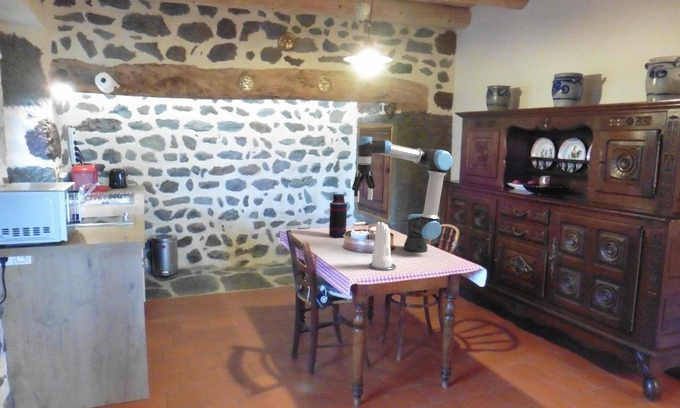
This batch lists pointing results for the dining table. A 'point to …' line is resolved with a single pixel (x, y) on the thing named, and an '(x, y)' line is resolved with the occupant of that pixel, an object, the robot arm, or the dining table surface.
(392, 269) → the disc
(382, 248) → the decorative vase
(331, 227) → the black thermos flask
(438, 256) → the dining table surface
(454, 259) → the dining table surface
